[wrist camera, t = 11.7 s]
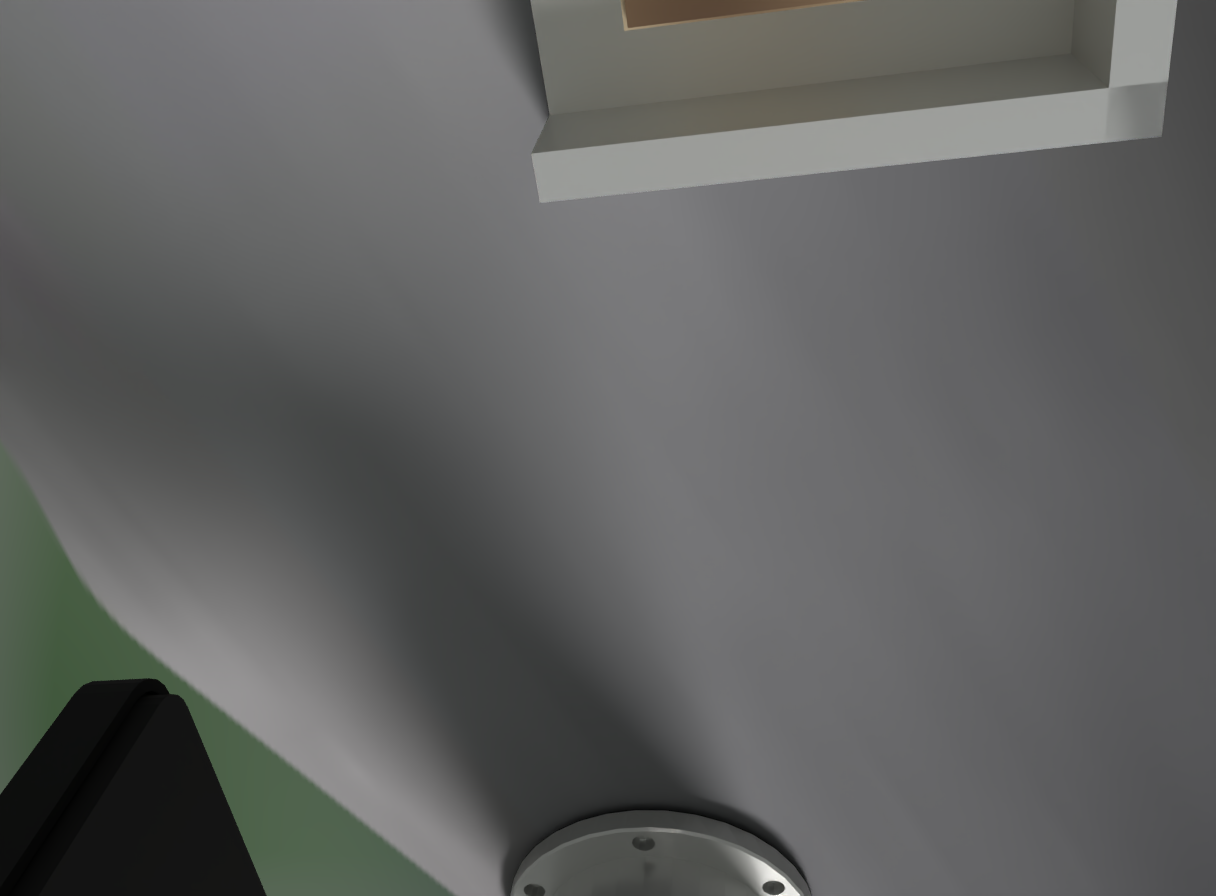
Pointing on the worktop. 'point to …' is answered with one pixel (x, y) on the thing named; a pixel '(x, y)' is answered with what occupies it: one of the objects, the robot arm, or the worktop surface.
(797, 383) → the worktop surface
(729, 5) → the beige and brown box
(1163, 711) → the worktop surface
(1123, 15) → the arena
